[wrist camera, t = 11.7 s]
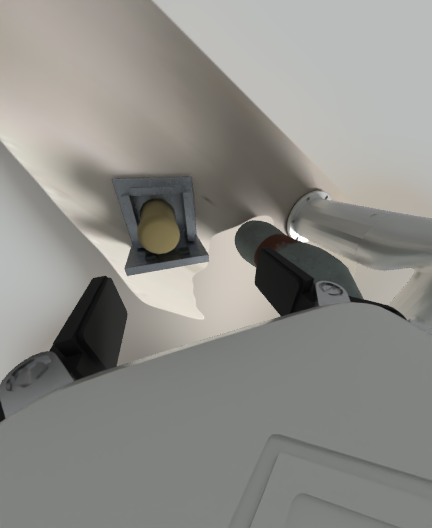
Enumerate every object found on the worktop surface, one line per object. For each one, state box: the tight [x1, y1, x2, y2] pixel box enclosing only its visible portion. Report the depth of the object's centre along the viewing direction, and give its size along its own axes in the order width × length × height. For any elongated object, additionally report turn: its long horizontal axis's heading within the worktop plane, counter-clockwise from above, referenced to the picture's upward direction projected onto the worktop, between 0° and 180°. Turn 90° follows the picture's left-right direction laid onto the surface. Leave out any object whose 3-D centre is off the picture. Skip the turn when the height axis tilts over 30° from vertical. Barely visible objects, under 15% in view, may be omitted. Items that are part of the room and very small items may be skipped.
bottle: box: [235, 221, 363, 299], centre depth 25 cm, size 9×9×30 cm
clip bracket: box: [112, 176, 209, 276], centre depth 25 cm, size 12×12×10 cm
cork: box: [137, 198, 180, 254], centre depth 24 cm, size 6×6×11 cm
